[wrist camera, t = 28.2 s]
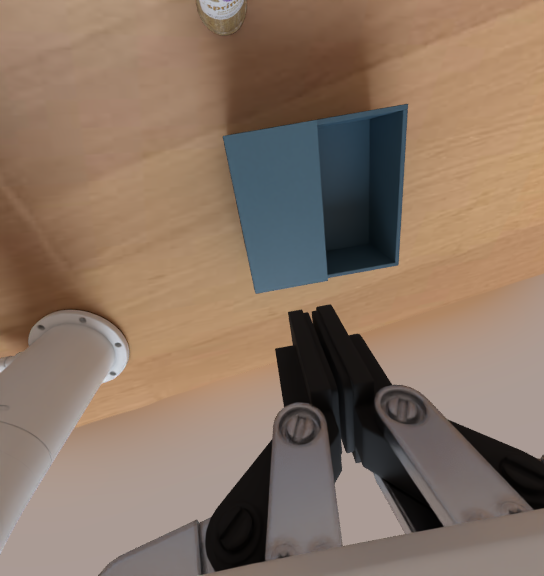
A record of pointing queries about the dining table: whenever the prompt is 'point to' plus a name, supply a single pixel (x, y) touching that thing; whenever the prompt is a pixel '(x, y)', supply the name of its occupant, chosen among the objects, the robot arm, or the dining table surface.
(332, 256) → the carton
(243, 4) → the spice jar
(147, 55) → the dining table surface
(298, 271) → the flap
